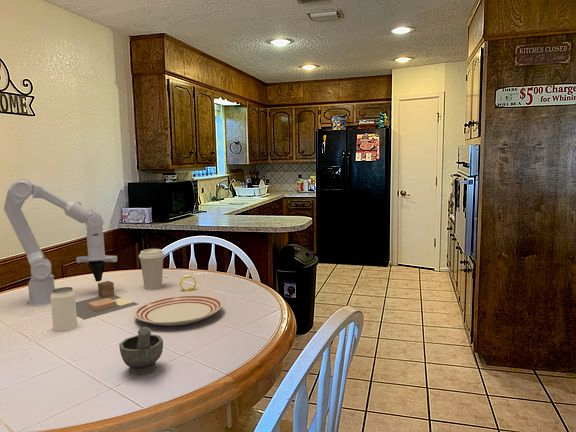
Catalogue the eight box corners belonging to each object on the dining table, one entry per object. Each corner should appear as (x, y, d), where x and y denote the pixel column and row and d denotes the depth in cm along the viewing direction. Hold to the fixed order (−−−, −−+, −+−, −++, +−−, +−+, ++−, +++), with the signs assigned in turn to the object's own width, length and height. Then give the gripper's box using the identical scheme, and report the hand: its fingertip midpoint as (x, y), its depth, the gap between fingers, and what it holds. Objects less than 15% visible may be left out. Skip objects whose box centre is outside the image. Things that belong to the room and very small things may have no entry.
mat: (57, 307, 151) (57, 306, 151) (110, 294, 166) (110, 293, 166) (84, 320, 138) (84, 319, 138) (139, 305, 153) (139, 303, 153)
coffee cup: (155, 283, 179) (153, 247, 177) (171, 287, 174) (169, 249, 172) (135, 289, 172) (133, 251, 170) (150, 293, 166) (148, 254, 164)
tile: (87, 303, 149) (96, 306, 145) (107, 297, 154) (116, 301, 151) (88, 308, 149) (96, 311, 146) (108, 302, 155) (116, 306, 151)
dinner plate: (118, 318, 141) (117, 308, 140) (190, 297, 161) (190, 288, 160) (165, 340, 122) (164, 329, 122) (240, 314, 142) (239, 304, 142)
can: (67, 333, 128) (64, 293, 127) (48, 332, 130) (44, 292, 128) (82, 325, 135) (79, 287, 133) (63, 324, 136) (60, 286, 135)
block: (98, 296, 162) (97, 283, 162) (109, 293, 165) (108, 280, 165) (104, 298, 160) (103, 285, 159) (114, 295, 163) (113, 282, 162)
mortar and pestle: (119, 366, 107) (115, 318, 105) (158, 357, 111) (155, 311, 110) (126, 386, 97) (123, 334, 96) (169, 375, 102) (166, 325, 100)
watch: (181, 292, 167) (179, 277, 166) (180, 290, 170) (178, 275, 169) (197, 290, 169) (195, 275, 168) (196, 288, 172) (194, 273, 171)
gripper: (71, 247, 160) (74, 284, 162) (110, 246, 160) (113, 283, 161) (80, 243, 167) (83, 278, 169) (118, 243, 166) (121, 278, 168)
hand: (98, 280), depth 165 cm, fingers closed
